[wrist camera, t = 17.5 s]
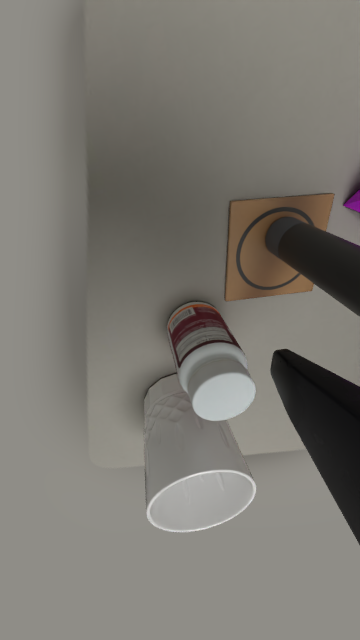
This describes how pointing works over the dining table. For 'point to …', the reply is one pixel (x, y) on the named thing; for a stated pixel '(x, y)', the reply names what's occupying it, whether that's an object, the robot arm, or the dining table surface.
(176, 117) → the dining table surface
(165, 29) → the dining table surface
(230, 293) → the square wooden coaster
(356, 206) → the crystal
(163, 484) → the white cup
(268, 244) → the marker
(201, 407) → the pill bottle
